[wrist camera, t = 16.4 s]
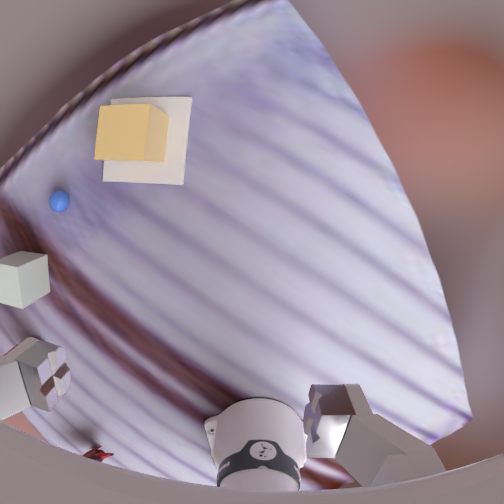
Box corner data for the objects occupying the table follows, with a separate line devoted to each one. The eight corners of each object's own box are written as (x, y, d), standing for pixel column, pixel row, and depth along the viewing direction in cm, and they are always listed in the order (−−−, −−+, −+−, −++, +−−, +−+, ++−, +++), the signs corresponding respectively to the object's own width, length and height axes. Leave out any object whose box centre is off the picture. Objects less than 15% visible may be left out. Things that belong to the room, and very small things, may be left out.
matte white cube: (50, 291, 45) (22, 309, 38) (24, 286, 45) (-4, 301, 38) (47, 254, 44) (17, 267, 36) (20, 250, 44) (-10, 262, 36)
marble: (72, 211, 42) (61, 213, 39) (56, 210, 42) (44, 212, 39) (73, 190, 42) (61, 191, 39) (57, 189, 42) (45, 190, 39)
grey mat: (183, 185, 41) (183, 185, 41) (103, 181, 41) (102, 181, 41) (192, 97, 39) (192, 96, 38) (112, 99, 39) (111, 98, 38)
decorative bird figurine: (77, 450, 54) (60, 478, 44) (118, 429, 51) (100, 463, 42) (86, 458, 55) (71, 487, 45) (128, 438, 52) (113, 472, 42)
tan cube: (164, 163, 40) (144, 160, 33) (121, 162, 40) (94, 159, 33) (169, 116, 39) (150, 103, 31) (126, 116, 39) (100, 105, 31)
